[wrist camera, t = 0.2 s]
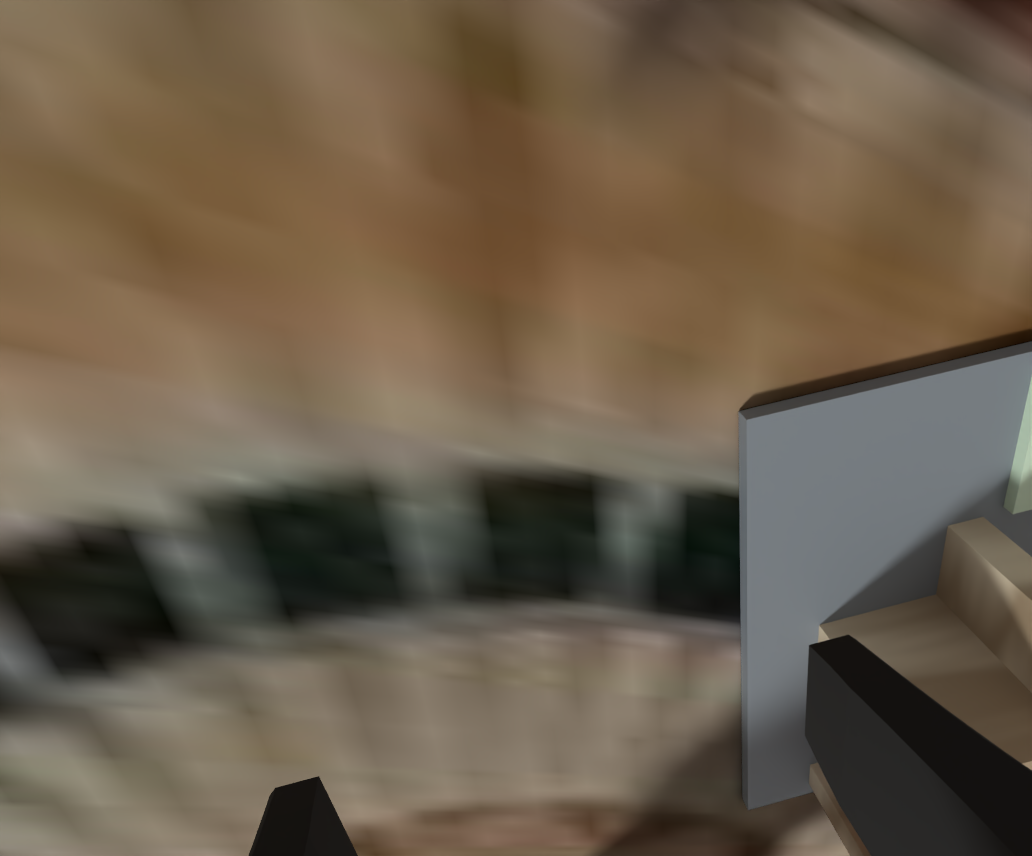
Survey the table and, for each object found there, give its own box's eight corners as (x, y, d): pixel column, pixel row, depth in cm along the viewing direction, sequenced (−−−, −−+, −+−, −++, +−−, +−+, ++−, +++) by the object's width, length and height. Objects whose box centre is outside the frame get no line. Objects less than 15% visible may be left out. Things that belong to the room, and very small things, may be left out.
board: (1110, 696, 31) (1120, 706, 31) (742, 798, 30) (747, 810, 30) (1261, 286, 22) (1279, 292, 21) (738, 411, 21) (746, 420, 20)
